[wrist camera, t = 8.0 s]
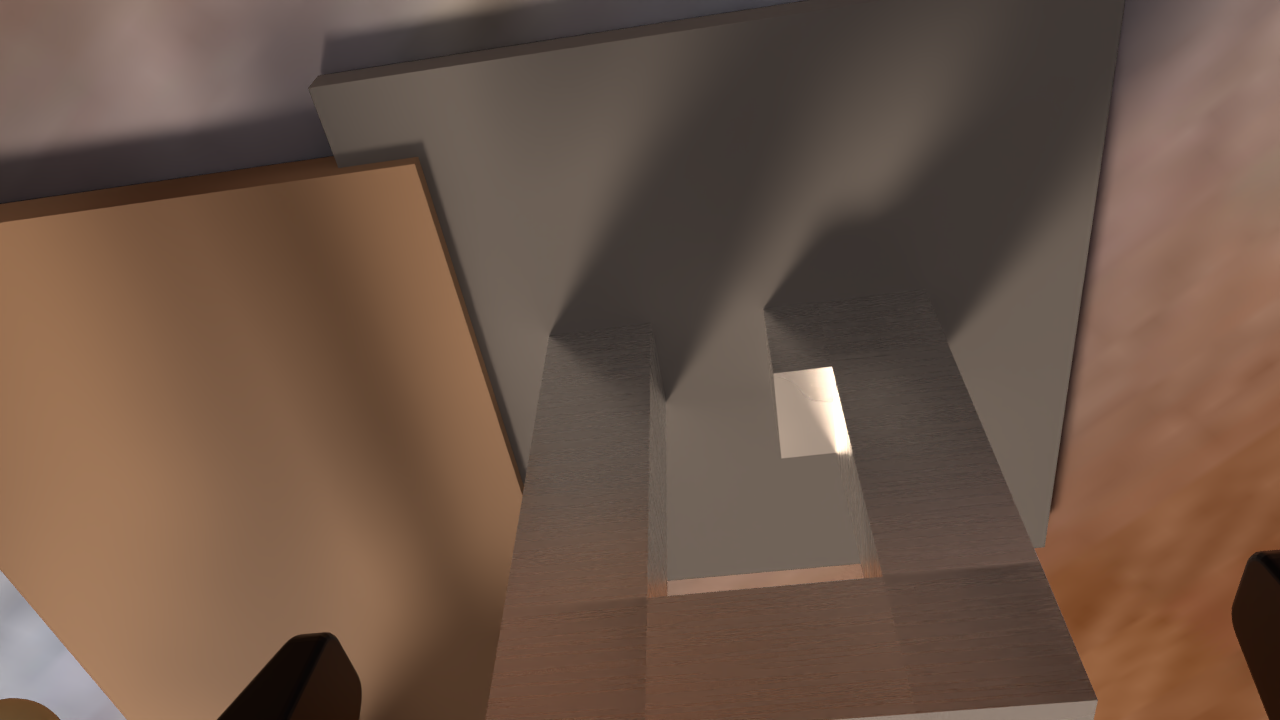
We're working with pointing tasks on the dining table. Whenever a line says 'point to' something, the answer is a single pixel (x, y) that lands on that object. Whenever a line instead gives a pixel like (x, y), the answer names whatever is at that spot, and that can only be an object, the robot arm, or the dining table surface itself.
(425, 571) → the link stand
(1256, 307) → the dining table surface
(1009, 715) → the slotted rectangular block
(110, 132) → the dining table surface
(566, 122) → the slate coaster
